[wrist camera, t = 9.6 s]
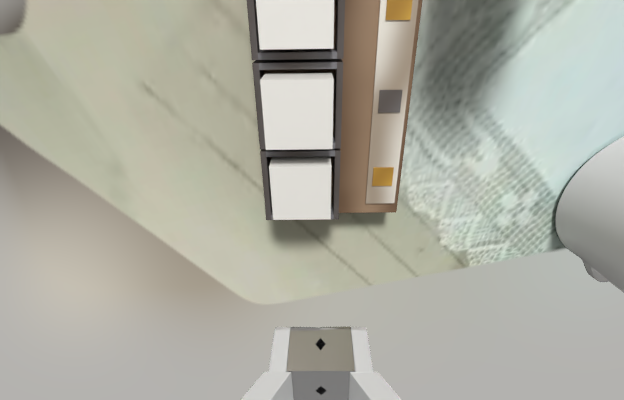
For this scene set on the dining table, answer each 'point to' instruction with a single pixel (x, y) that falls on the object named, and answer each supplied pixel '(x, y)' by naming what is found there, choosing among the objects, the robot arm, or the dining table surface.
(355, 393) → the robot arm
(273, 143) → the button middle
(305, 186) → the button far
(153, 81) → the dining table surface
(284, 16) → the button near
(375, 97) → the button board
